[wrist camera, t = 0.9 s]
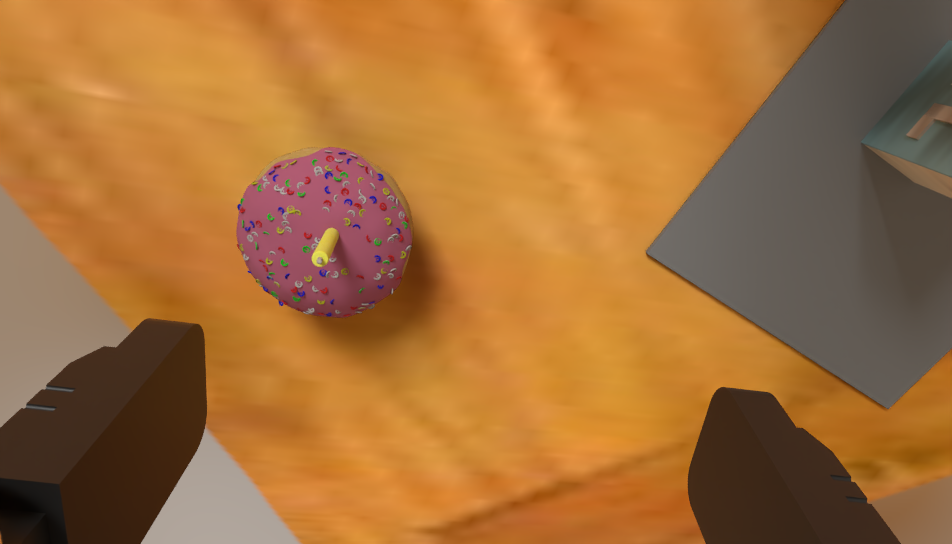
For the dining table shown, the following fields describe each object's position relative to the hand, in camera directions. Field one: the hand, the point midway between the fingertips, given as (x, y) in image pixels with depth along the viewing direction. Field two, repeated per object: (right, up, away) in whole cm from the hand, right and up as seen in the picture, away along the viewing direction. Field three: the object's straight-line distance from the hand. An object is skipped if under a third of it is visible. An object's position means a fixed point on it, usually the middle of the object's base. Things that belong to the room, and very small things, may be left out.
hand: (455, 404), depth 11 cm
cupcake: (-7, +6, +26) cm, 28 cm away
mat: (+24, +7, +26) cm, 36 cm away
